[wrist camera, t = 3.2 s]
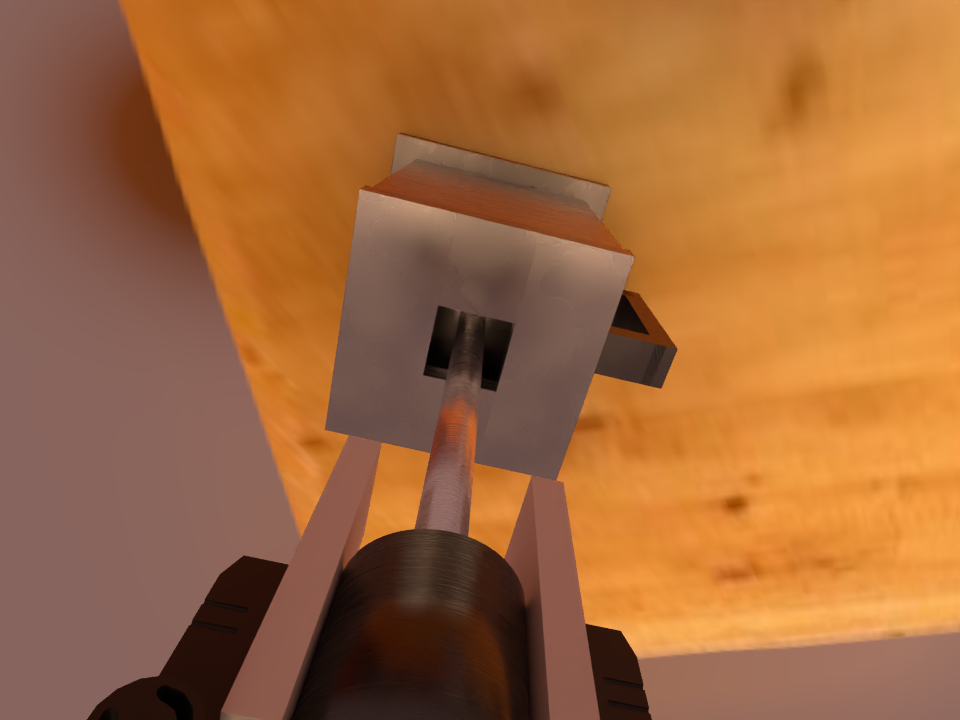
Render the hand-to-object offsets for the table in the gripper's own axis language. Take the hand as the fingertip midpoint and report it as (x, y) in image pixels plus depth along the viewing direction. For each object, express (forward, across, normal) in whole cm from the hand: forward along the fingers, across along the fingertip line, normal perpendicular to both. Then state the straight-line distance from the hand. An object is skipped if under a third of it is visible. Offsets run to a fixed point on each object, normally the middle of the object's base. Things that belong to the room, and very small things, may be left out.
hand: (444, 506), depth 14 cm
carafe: (+23, +1, 0) cm, 23 cm away
